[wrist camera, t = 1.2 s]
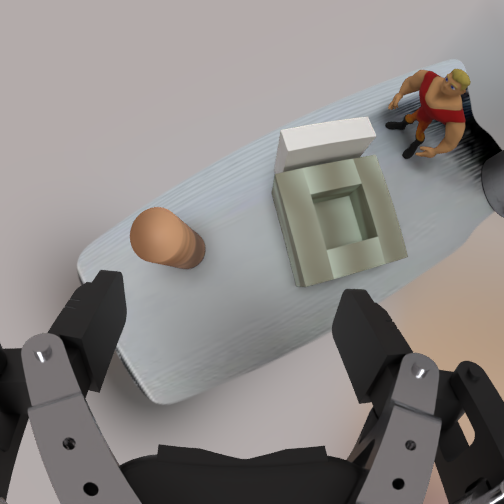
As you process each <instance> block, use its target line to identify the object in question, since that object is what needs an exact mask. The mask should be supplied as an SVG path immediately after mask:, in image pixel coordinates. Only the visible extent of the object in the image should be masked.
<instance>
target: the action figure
mask: <svg viewBox="0 0 504 504" xmlns="http://www.w3.org/2000/svg"><path fill="white" fill-rule="evenodd" d="M469 85H470V79H469V76H468V75H467V74H466V73H465V72H464V71H462V70H461V69H454V70H453V71H452V72H451V73H450V74H447V76H446V77H445V78H442V77H440V76H439V75H437V74H436V73H434V72H432V71H427V70H419V71H418V72H416V73H415V74H414V75H413V76H410V77H408V78H407V79H405V81H404V82H403V84H402V86H401V88H400V91H399V93H397V94H396V95H395V96H394V98H393V101H392V102H391V103H390V104H389V107H388V109H391V110H392V109H393V107H394V109H396V107H397V108H398V102H399V101H400V99H401V98H403V95H406V94H409V93H413V92H416V91H419V90H420V91H419V96H420V102H421V107H420V108H419V109H418V110H417V111H415V112H414V113H413V114H412V115H411V114H407V115H405V117H404V119H403V121H402V122H387V123H386V127H387V128H389V129H394V128H399V129H402V130H404V129H405V127H406V125H408V124H412V123H413V122H414V121H415V120H417V121H418V122H419V124H418V127H417V131H416V140H415V142H413V143H412V144H411V145H410V147H409V148H408V149H406V150H405V151H404V152H403V157H404V158H406V159H408V158H410V157H412V155H413V154H414V152H415V151H416V149H417V147H418V146H419V145H420V144H422V143H423V142H424V139H425V135H424V133H423V132H424V131H425V129H426V128H427V127H428V126H429V124H430V123H431V122H432V120H437V121H439V122H441V123H443V124H444V125H446V132H445V137H444V139H443V140H442V141H441V142H440V144H439V145H438V146H437V147H436V148H431V147H420V149H421V150H425V151H424V152H420V153H416V155H417V156H421V157H423V156H424V157H429V158H432V157H434V156H435V155H436V154H440V153H447V152H450V151H452V150H453V149H454V148H456V146H457V144H458V143H459V141H460V140H461V138H462V136H463V133H464V130H465V117H464V112H463V109H462V100H461V96H460V94H463V93H465V92H466V90H465V89H466V88H467V86H469Z"/></svg>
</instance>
